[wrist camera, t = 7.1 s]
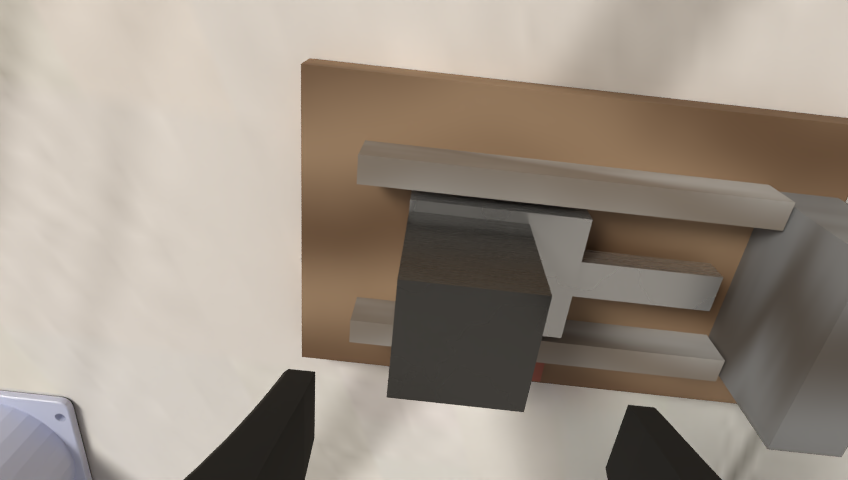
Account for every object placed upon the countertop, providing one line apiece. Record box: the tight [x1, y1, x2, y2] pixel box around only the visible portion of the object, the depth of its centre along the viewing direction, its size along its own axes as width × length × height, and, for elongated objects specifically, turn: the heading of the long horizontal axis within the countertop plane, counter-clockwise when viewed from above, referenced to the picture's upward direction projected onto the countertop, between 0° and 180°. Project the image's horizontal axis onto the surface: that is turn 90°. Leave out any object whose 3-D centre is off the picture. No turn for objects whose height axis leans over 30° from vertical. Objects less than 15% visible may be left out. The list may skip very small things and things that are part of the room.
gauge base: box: [301, 59, 848, 457], centre depth 18 cm, size 12×19×6 cm, turn 84°
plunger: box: [387, 190, 723, 412], centre depth 18 cm, size 8×11×6 cm
